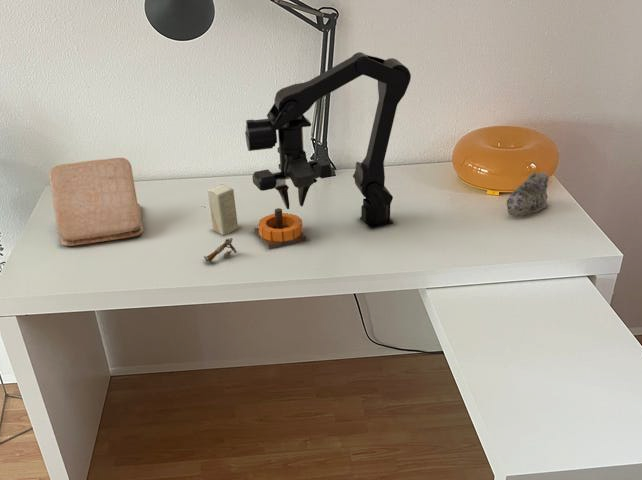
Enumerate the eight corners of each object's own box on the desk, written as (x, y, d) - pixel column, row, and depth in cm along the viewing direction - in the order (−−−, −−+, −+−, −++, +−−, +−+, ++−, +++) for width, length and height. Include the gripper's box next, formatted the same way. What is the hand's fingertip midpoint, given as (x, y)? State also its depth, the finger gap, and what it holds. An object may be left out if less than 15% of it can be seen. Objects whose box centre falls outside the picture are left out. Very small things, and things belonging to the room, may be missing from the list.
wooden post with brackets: (241, 250, 182) (232, 237, 179) (215, 271, 181) (206, 258, 177) (237, 247, 183) (228, 234, 180) (212, 268, 182) (203, 255, 179)
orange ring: (292, 219, 194) (292, 209, 193) (308, 236, 187) (308, 226, 185) (253, 227, 191) (252, 218, 190) (268, 245, 183) (267, 235, 182)
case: (60, 250, 187) (44, 189, 178) (63, 214, 204) (48, 157, 194) (144, 239, 191) (132, 178, 181) (140, 205, 207) (129, 148, 198)
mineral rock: (507, 221, 192) (512, 183, 186) (493, 203, 201) (497, 167, 195) (556, 216, 194) (562, 179, 188) (540, 199, 202) (545, 162, 196)
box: (228, 223, 196) (223, 183, 190) (238, 228, 194) (234, 188, 187) (212, 230, 193) (206, 189, 187) (222, 235, 191) (217, 194, 184)
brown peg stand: (291, 224, 195) (289, 198, 191) (306, 240, 187) (305, 213, 183) (254, 232, 192) (252, 206, 187) (268, 249, 184) (266, 222, 180)
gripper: (266, 164, 169) (271, 228, 178) (342, 149, 175) (342, 212, 184) (249, 148, 177) (254, 210, 186) (322, 134, 183) (323, 195, 192)
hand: (294, 207), depth 187 cm, fingers open, 3 cm apart
